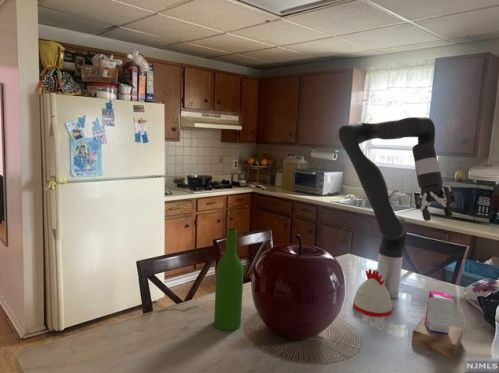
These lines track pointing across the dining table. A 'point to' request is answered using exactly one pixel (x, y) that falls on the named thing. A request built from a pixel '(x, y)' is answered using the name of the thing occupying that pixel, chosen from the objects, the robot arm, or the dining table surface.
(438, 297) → the supplement box
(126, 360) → the dining table surface
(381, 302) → the kitchen timer
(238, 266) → the wine bottle
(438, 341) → the walnut block
